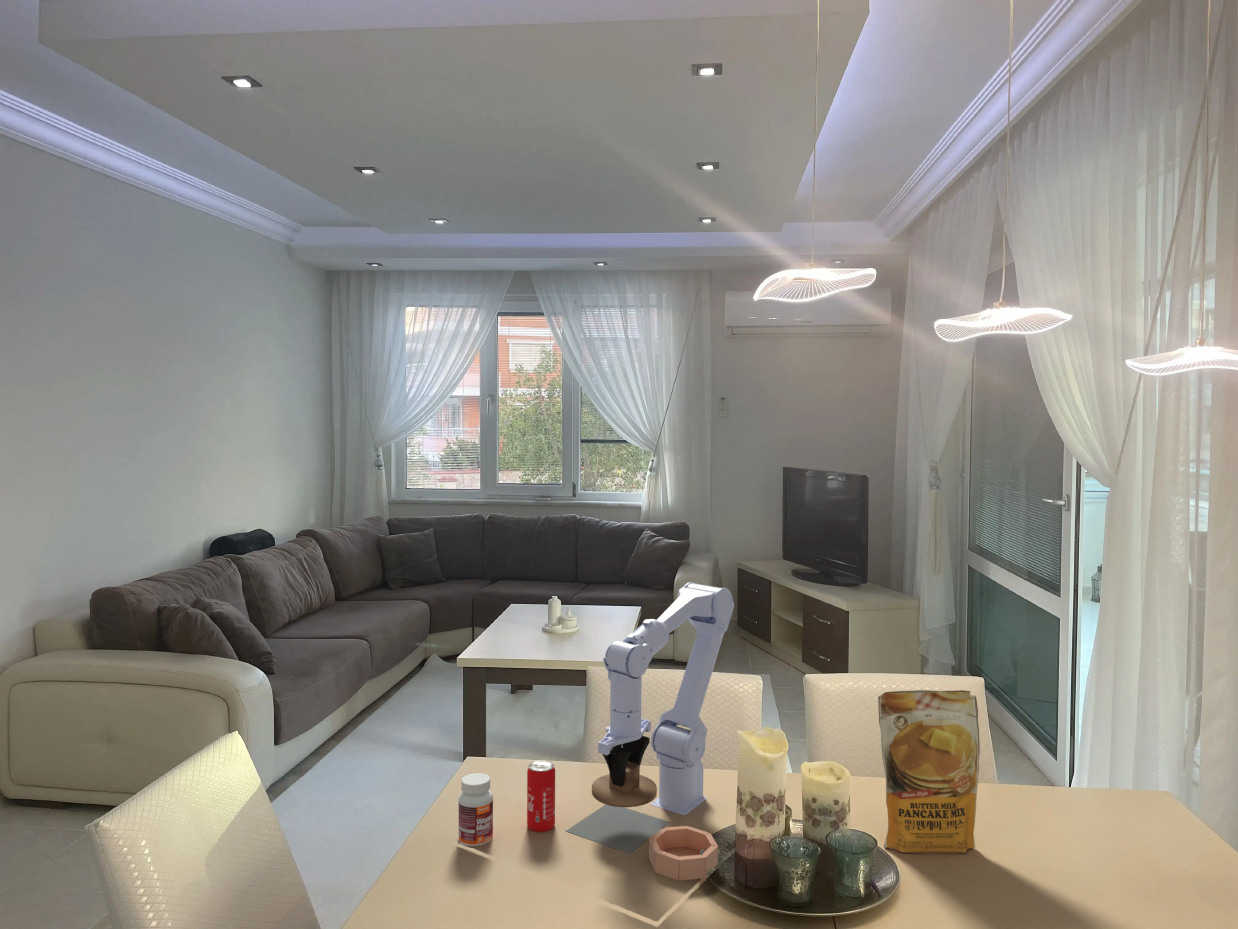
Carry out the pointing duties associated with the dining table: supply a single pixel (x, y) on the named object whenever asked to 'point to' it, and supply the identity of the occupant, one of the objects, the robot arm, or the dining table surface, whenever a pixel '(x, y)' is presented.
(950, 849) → the pancake mix bag
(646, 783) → the brown disc
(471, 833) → the pill bottle
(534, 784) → the beverage can
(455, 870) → the dining table surface
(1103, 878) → the dining table surface
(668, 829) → the bowl
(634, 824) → the mat
